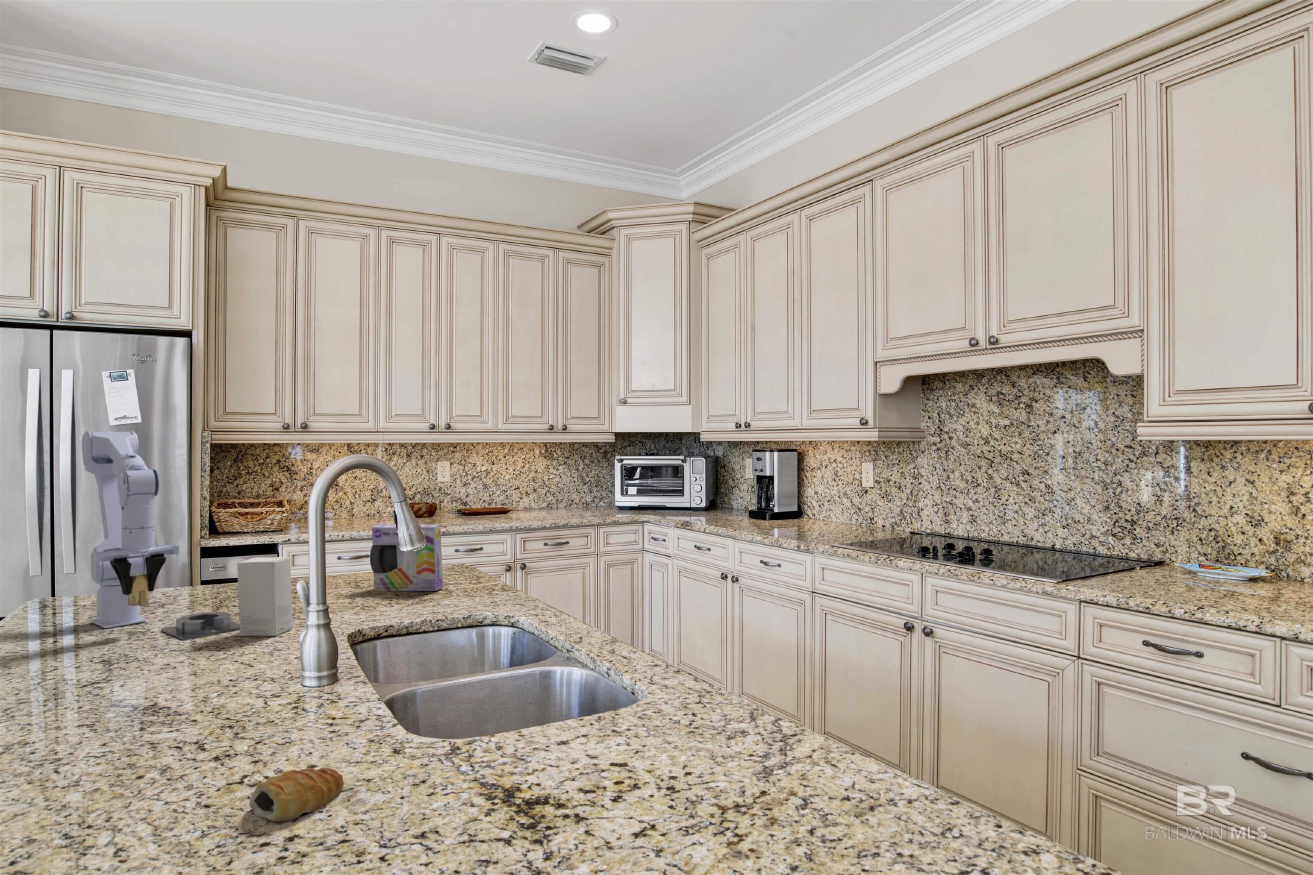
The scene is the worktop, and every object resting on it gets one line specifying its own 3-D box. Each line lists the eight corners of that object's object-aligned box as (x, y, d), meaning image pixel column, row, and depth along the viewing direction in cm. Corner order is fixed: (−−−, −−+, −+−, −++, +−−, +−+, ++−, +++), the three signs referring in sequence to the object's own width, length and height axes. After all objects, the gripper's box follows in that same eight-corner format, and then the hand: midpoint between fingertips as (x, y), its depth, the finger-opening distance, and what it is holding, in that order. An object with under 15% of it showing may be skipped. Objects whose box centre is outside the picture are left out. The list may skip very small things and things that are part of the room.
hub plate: (161, 630, 157) (161, 618, 157) (222, 619, 166) (222, 607, 166) (183, 640, 149) (183, 626, 149) (245, 628, 159) (245, 615, 159)
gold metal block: (125, 603, 154) (125, 575, 154) (145, 600, 156) (145, 572, 156) (133, 607, 151) (133, 578, 151) (153, 604, 153) (153, 575, 153)
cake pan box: (368, 590, 199) (368, 525, 199) (378, 586, 204) (378, 522, 204) (435, 593, 196) (435, 526, 196) (443, 589, 201) (443, 524, 201)
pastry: (322, 779, 89) (322, 748, 89) (357, 794, 85) (358, 761, 85) (243, 813, 81) (243, 778, 81) (279, 831, 77) (279, 794, 77)
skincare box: (293, 629, 158) (293, 556, 158) (274, 637, 152) (274, 561, 152) (256, 628, 159) (256, 556, 159) (236, 636, 152) (236, 561, 152)
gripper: (102, 532, 146) (102, 601, 146) (184, 525, 157) (184, 589, 157) (91, 529, 150) (91, 596, 150) (172, 523, 162) (172, 585, 162)
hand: (138, 592), depth 154 cm, fingers closed on gold metal block, 4 cm apart
